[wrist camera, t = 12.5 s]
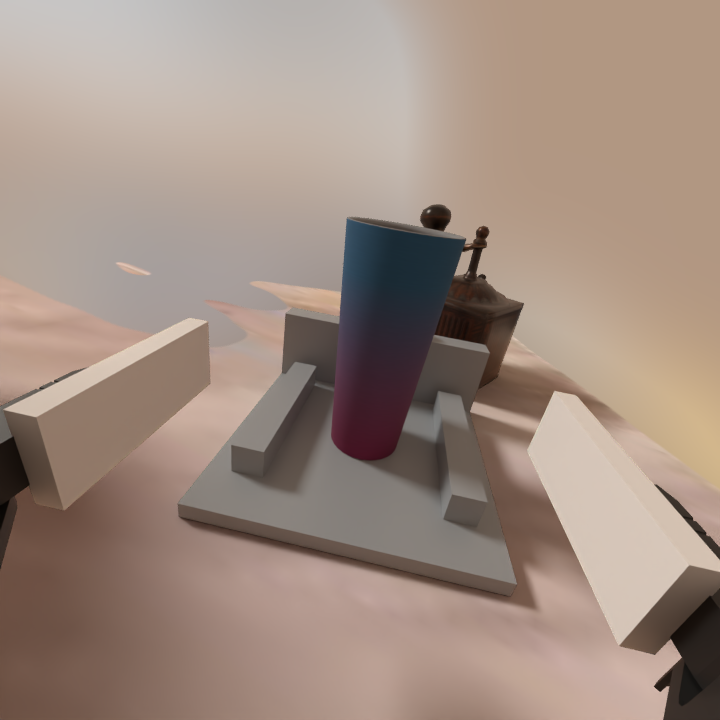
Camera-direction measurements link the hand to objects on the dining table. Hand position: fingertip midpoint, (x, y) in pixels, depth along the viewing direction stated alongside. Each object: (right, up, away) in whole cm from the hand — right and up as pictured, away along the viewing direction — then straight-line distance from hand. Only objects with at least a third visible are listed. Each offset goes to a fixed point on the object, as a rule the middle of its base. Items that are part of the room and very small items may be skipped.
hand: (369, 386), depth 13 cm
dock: (0, -6, +13) cm, 14 cm away
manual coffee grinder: (+8, +1, +31) cm, 32 cm away
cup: (0, -5, +13) cm, 14 cm away
